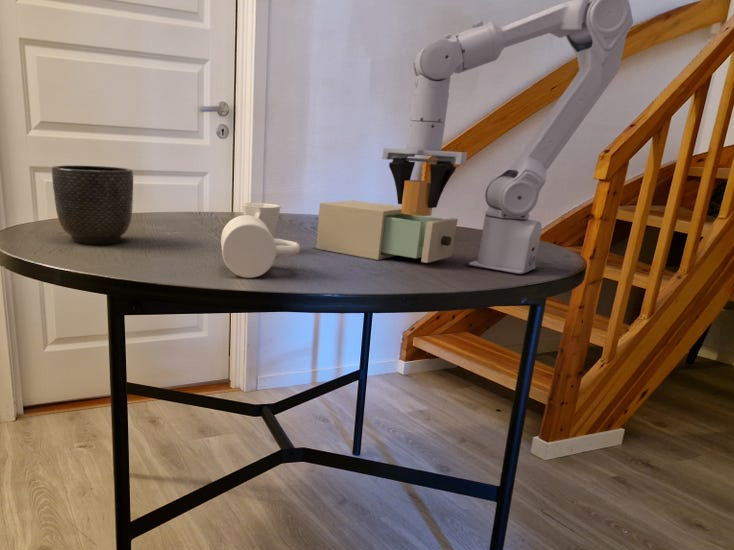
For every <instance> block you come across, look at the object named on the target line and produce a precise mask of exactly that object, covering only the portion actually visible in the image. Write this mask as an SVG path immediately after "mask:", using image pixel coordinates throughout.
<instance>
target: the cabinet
mask: <svg viewBox="0 0 734 550" xmlns="http://www.w3.org/2000/svg"><path fill="white" fill-rule="evenodd" d="M401 207H402V205H394V204H385V203H376V202H369V201H360V200H354V199H353V200H341V201H329V202H319V207H318V221H317V234H316V249H317V250H320V251H325V252H326V251H327V252H333V253H337V254H343V255H347V256H348V255H349V256H354V257H359V258H366V259H371V260H376V261H379V260H384V259H387V258H393V257H397V256H398V255H393V254H388V253H382V252H381V247H382V238H383V230H384V221H385V216H386V215H394V214H402V213H401Z"/></svg>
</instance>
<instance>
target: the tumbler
mask: <svg viewBox="0 0 734 550" xmlns="http://www.w3.org/2000/svg"><path fill="white" fill-rule="evenodd" d="M430 184H431V180H420V179H419V180H416V179H410V180H405V182H404V190H403V199H402V204H401V206H402V207H401V213H402V214H407V215H416V216H427V217H431V216H432V212H433V208H428V200H429V193H430Z"/></svg>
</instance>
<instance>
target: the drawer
mask: <svg viewBox="0 0 734 550" xmlns="http://www.w3.org/2000/svg"><path fill="white" fill-rule="evenodd" d="M457 226H458V218H454V217H449V218H441V217H434V216H416V215H407V214H394V215H386V216H385V221H384V230H383V238H382V247H381V252H382V253H388V254H393V255H397V256H400V257H406V258H412V259H419V258H421V260H420V262H421V263H426V264H428V263H432V262H436V261H439V260H440V261H441V260H444V259H447V258H451V257H453V252H454V246H455V238H456V232H457Z"/></svg>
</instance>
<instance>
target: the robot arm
mask: <svg viewBox="0 0 734 550" xmlns="http://www.w3.org/2000/svg"><path fill="white" fill-rule="evenodd" d="M633 24H634V18H633V13H632V8H631V4H630V1H629V0H569V1H566V2H562V3H559V4H556V5H554V6H551V7H549V8H546V9H543V10H542V11H539V12H535V13H534V14H531V15H528V16H526V17H524V18H521V19H519V20H516V21H514V22H512V23H509V24H506V25H503V26H498V25H496V24H494V23H493V22H490V21H488V22H485V23H484V22H483V20H479V21H476V22H475V23H473V24H472V26H471V27H472V28H469V29H466V30H464V31H462V32H458V33H456V34H453V35H451V33H447V34H444V35H443V36H442V38H441V37H440V38H437V39H436V40H434V41H432V42H430V43H428V44H427V45H426V46H424V47H423V48H421V50H420V51H419V52H418V53H417V55H416V58H415V61H414V62H413V64H412V67H413V73H414V75H415V77H416V78H415V82H414V91H413V94H412V102H411V109H410V110H411V111H410V119H409V120H410V121H409V128H408V135H407V145H406V148H396V147H383V149H382V157H381V159H382V160H391V162H388V163H389V164H388V167H389V170H390V172H391V175H392V177H393V180H394V184H395V185H394V186H395V190H396V197H397V205H402V199H403V190H404V182H405V180H412V174H413V171H414V168H415V164H416V162H420V163H430V165H429V168H430V169H429V170H430V181H431V184H430V193H429V200H428V208H432V209H435V208H437V207H438V204H439V202H440V198H441V196H442V193H443V192H444V189H445V187H446V185H447V184H448V182H449V180H450V178H451V177H452V176H453V174H454V173H455V171H456V169H457V167H456V166H455V165H457V166H465V165H466V163H467V158H468V157H467V156H468V152H461V151H447V150H445V151H444V150H442V148H443V141H444V134H445V126H446V120H447V119H446V118H447V111H448V104H449V98H450V97H449V96H450V91H449V90H450V84H451V76H452V75H453V74H454V73H455V74H461V73H464V72H467V71H469V70H472V69H475V68H478V67H481V66H484V65H487V64H489V63H492V62H495V61H497V60H498V59H499V58H500V56H501V54H502V52H503V50H504V49H505V48H508V47H511V46H514V45H517V44H520V43H524V42H526V41H529V40H532V39H536V38H538V37H542V36H544V35H545V36H546V35H548V34H550V35H553V36H554V37H556V38H559V39H562V38H566V40H567V42H568V44H569V45H570V47H571V49H572V50H573V52H574V53H575V55H576V58H577V63H578V64H577V65H578V72H577V73H576V75H575V76H574V77H573V79H572V80H571V82H570V84H569V85H568V86H567V88H566V89H565V90H564V92H563V93H562V94H561V96H560V97H559V99H558V100H557V102H556V103H555V105H554V106H553V107H552V109H551V110H550V111H549V113H548V115H547V116H546V117H545V119H544V120H543V121H542V123H541V124H540V126H539V128H537V130H536V132H535V133H534V135H533V136H532V137H531V139H530V140H529V142H527V144H526V146H525V147H524V149H522V151H521V153H520V154H519V156H518V157H516V158H515V159H514V160H513V161H511V162H510V163H509V164H508V165H507V166H506V168H505V169H504V170H503V171H502V172H501V174H499V175H497V176H496V177H494V178H493V179H492V180H490V181H489V182H488V183H487V185H486V187H485V191H484V200H485V203H486V204H487V206H488V207H487V210H486V211H485V214H484V218H483V219H484V220H483V225H482V232H481V237H480V243H479V249H478V255H477V260H473V261H470V262H468V266H472V267H476V268H483V269H488V270H494V271H500V272H505V273H506V272H507V273H511V274H518V275H524V274H526V273H528V272H530V271H532V270H535V269H536V268H537V267H536V261H537V257H538V252H539V248H540V247H539V246H540V242H541V237H542V223H541V221H539V220H533V219H530V212H532V210H533V209H534V208H535V207H536V205H537V203H538V200H539V194H540V192H541V190H542V188H543V187H544V185H545V184H546V182H547V181H546V180H547V171H548V169H549V168H550V167H551V166H552V164H553V163H554V161H555V160H556V158H557V157H558V155H559V154H560V153H561V152H562V150H563V149H564V148H565V146H566V145H567V144H568V142H569V141H570V140H571V138H572V136H573V135H574V134H575V132H576V131H577V130H578V128H579V127H580V126H581V124H582V123H583V121H584V120H585V118H586V117H587V116H588V114H589V113H590V112H591V110H592V109H593V107H595V105H596V104H597V102H598V101H599V100H600V98H601V96H602V95H603V94H604V92H605V91H606V90H607V89H608V87H609V85H610V84H611V83H612V82H613V80H614V78H615V77H616V76H617V74H618V72H619V70H620V68H621V63H622V59H623V54H624V50H625V49H624V48H625V44H626V39H627V36H628V33H629V31H630V30H631V28H632V26H633ZM416 156H427V157H428V156H429V157H431V158H418V157H416Z"/></svg>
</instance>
